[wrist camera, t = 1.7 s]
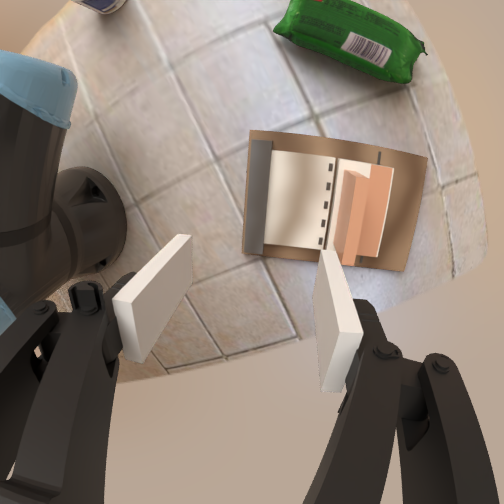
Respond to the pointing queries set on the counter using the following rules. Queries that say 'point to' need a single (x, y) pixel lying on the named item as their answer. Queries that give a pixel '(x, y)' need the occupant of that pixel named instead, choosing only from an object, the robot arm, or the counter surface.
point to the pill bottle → (101, 5)
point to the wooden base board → (321, 196)
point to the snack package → (353, 37)
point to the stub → (358, 209)
